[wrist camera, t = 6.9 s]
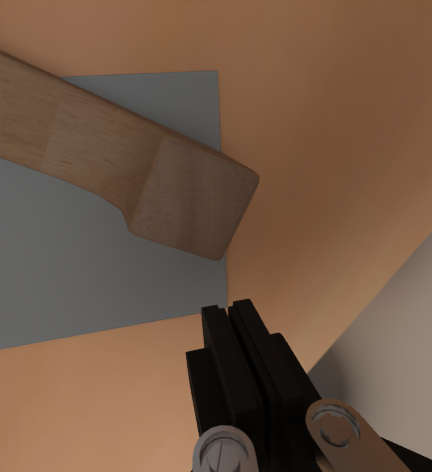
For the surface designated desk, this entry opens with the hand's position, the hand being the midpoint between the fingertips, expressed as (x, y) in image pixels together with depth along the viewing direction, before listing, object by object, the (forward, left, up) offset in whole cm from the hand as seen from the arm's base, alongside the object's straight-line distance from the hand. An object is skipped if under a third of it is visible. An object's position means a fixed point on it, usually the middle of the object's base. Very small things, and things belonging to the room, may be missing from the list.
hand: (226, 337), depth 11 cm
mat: (+7, 0, -14) cm, 15 cm away
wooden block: (-2, -2, -9) cm, 9 cm away
